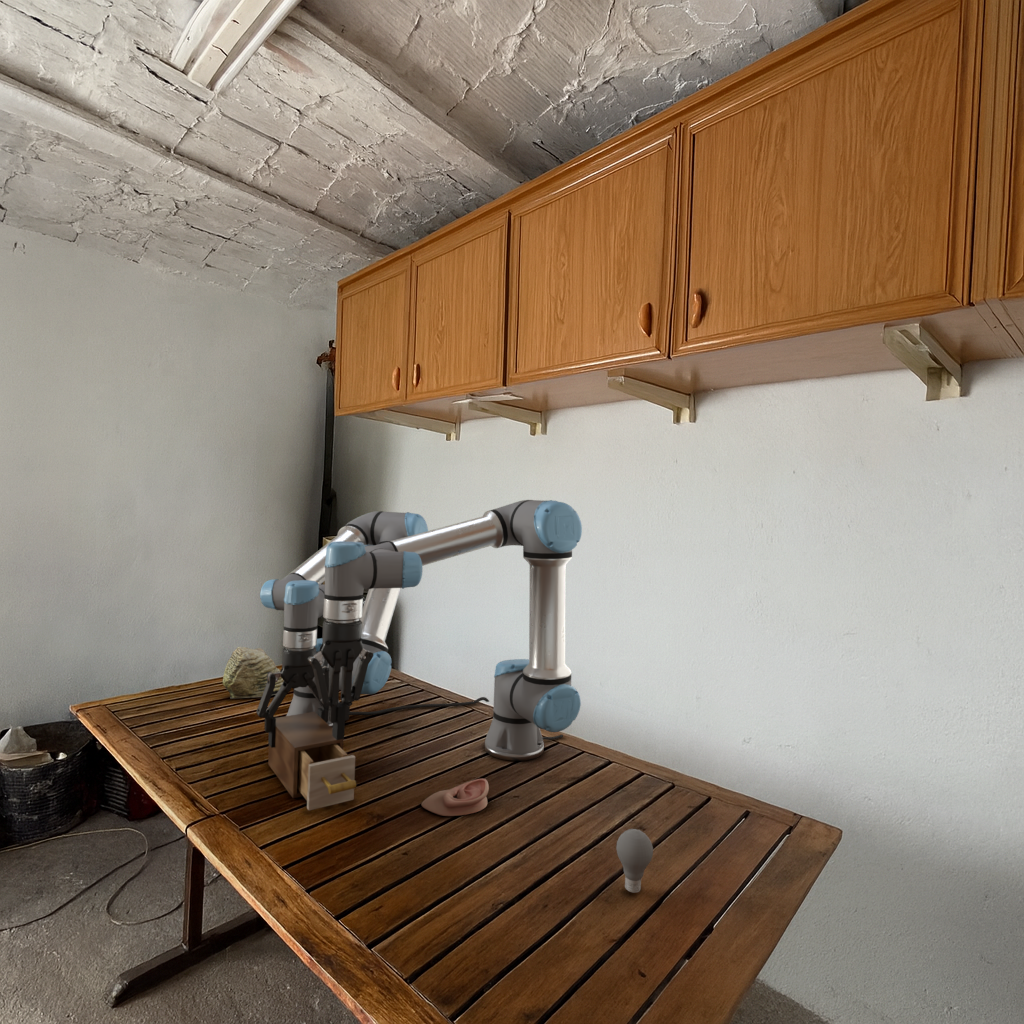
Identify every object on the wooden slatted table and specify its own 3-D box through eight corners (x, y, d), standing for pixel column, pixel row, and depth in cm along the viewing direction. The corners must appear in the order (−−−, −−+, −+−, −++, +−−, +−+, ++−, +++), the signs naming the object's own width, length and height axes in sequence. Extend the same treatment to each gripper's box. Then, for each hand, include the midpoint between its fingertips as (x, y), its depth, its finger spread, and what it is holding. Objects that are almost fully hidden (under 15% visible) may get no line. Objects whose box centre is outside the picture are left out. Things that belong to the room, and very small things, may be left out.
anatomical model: (416, 792, 129) (434, 769, 140) (415, 812, 129) (434, 787, 140) (479, 801, 126) (493, 777, 137) (479, 821, 126) (492, 795, 137)
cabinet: (341, 787, 138) (343, 738, 138) (292, 798, 132) (294, 747, 132) (312, 755, 155) (314, 711, 154) (268, 764, 149) (269, 718, 148)
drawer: (365, 812, 126) (366, 767, 126) (318, 824, 121) (320, 778, 121) (323, 766, 146) (325, 728, 146) (282, 775, 141) (283, 735, 141)
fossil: (218, 695, 195) (220, 647, 195) (278, 685, 208) (279, 640, 207) (228, 703, 189) (230, 653, 188) (289, 692, 201) (290, 645, 201)
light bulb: (610, 879, 108) (613, 822, 108) (644, 879, 109) (647, 822, 109) (619, 902, 102) (622, 840, 102) (655, 901, 103) (658, 840, 103)
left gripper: (251, 656, 138) (248, 756, 139) (353, 645, 152) (349, 737, 152) (243, 648, 144) (240, 744, 145) (342, 639, 158) (338, 727, 158)
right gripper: (316, 625, 119) (311, 750, 119) (381, 620, 126) (376, 737, 127) (303, 618, 125) (299, 736, 126) (366, 614, 133) (362, 725, 133)
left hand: (296, 741), depth 148 cm, fingers closed on cabinet, 10 cm apart
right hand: (338, 737), depth 126 cm, fingers closed
